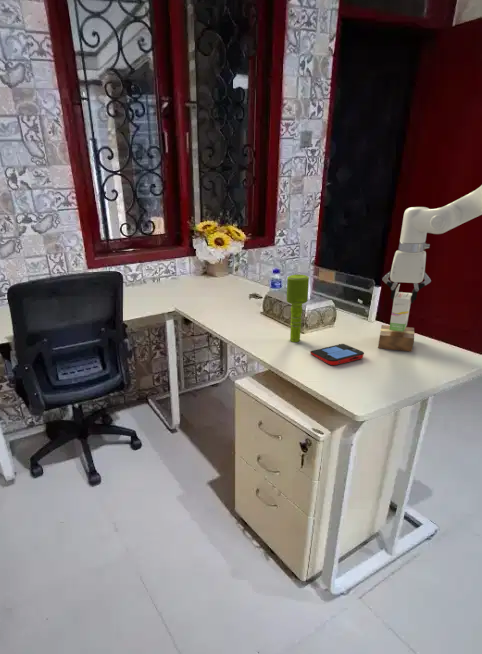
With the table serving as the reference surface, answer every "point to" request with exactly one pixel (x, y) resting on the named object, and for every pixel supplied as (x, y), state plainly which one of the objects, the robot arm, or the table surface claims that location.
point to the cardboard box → (396, 339)
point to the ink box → (400, 310)
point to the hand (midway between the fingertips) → (402, 300)
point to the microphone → (296, 302)
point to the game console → (338, 354)
